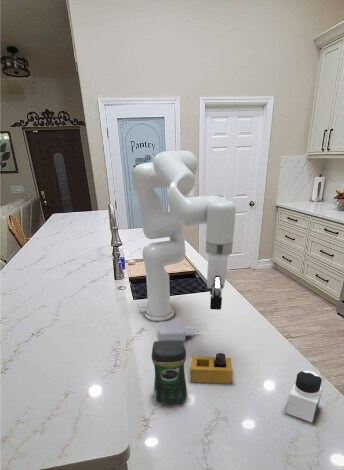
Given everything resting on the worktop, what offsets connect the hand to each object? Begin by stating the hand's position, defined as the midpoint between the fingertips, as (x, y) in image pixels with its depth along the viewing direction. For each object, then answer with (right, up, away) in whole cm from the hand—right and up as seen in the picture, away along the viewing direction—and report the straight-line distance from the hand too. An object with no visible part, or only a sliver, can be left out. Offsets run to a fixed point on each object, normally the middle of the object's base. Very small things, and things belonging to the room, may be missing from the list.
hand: (215, 301), depth 101 cm
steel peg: (+2, -24, +4) cm, 24 cm away
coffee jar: (-14, -28, -4) cm, 32 cm away
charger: (-11, -12, +26) cm, 31 cm away
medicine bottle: (+23, -31, -10) cm, 40 cm away
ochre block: (-1, -24, +4) cm, 24 cm away
